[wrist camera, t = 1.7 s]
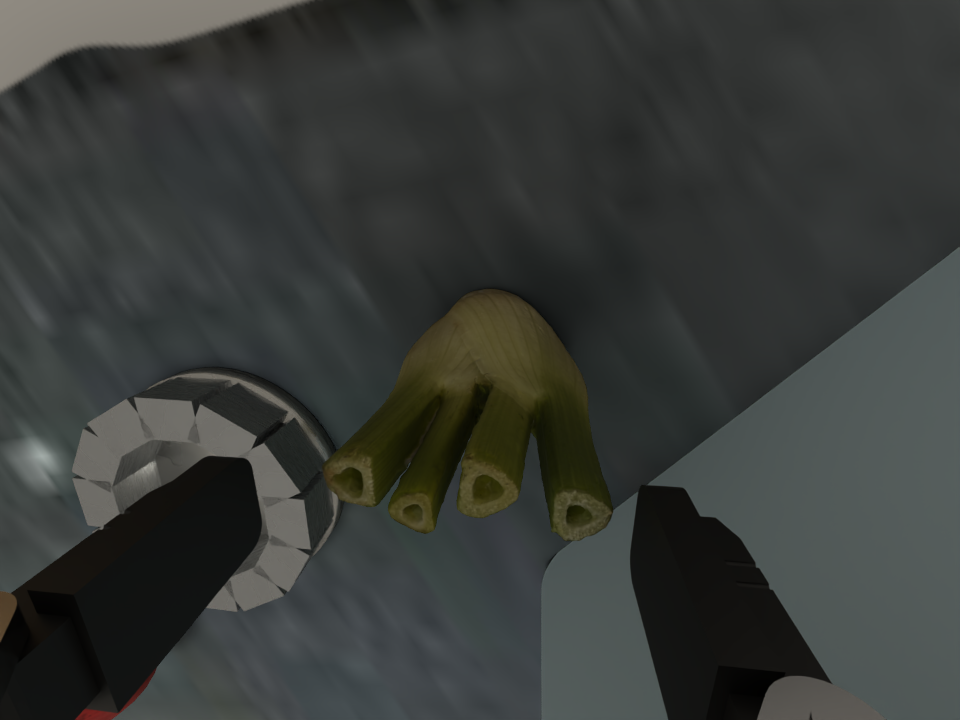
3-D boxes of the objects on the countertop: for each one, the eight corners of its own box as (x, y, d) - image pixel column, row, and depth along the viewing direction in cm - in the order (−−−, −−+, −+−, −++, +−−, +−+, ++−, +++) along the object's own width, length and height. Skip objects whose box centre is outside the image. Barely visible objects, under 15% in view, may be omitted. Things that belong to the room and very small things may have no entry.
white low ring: (333, 373, 21) (295, 404, 18) (353, 571, 25) (325, 626, 22) (110, 361, 23) (37, 386, 19) (162, 550, 27) (109, 598, 23)
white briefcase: (619, 628, 24) (703, 1080, 12) (541, 564, 23) (542, 971, 11) (1089, 326, 17) (2764, 681, 4) (995, 218, 16) (2679, 248, 3)
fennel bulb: (586, 332, 19) (652, 507, 8) (523, 416, 21) (502, 662, 9) (473, 258, 19) (370, 330, 7) (418, 350, 20) (265, 523, 9)
